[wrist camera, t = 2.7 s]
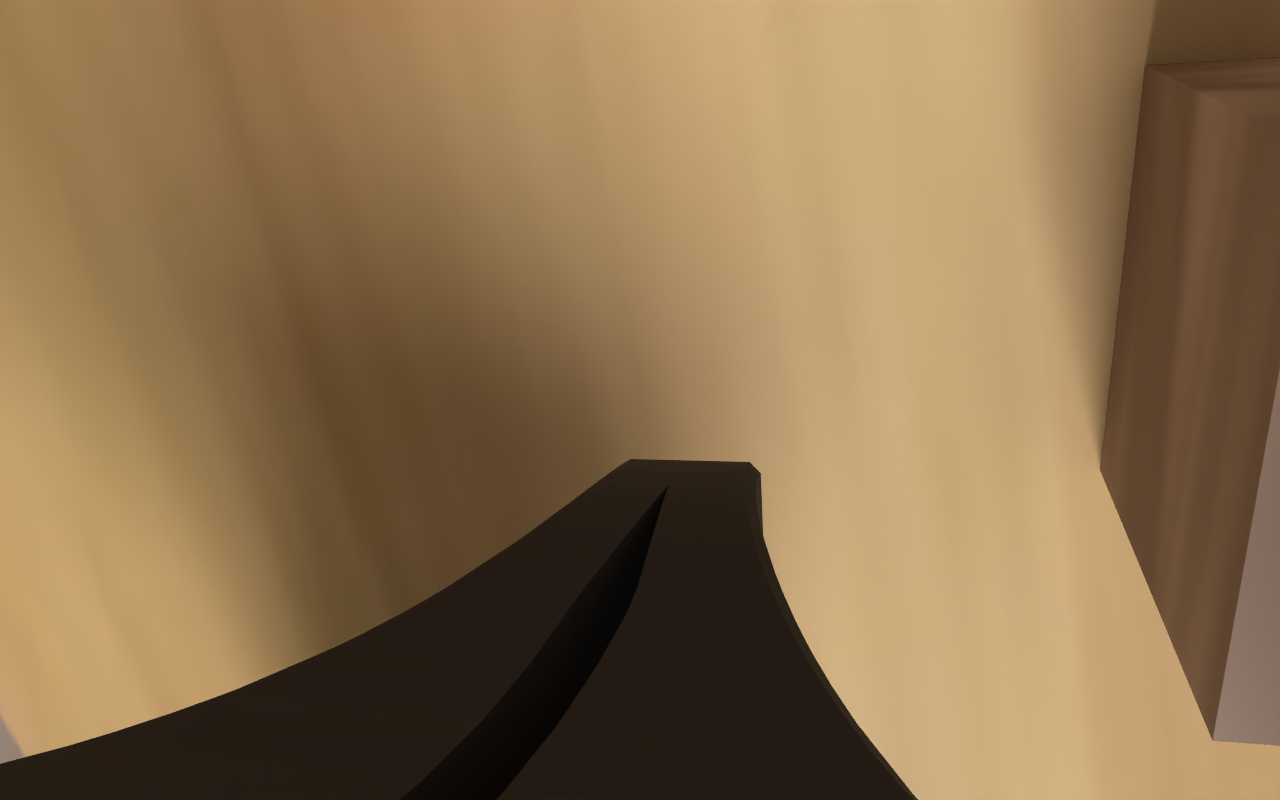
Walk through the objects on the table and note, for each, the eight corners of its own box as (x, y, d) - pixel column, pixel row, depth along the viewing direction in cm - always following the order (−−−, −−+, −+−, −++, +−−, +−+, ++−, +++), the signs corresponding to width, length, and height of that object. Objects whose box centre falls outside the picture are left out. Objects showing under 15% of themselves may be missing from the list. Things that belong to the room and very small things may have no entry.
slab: (1099, 469, 19) (1212, 740, 12) (1144, 65, 16) (1319, 150, 10) (1246, 472, 18) (1442, 758, 12) (1319, 55, 15) (1625, 137, 9)
